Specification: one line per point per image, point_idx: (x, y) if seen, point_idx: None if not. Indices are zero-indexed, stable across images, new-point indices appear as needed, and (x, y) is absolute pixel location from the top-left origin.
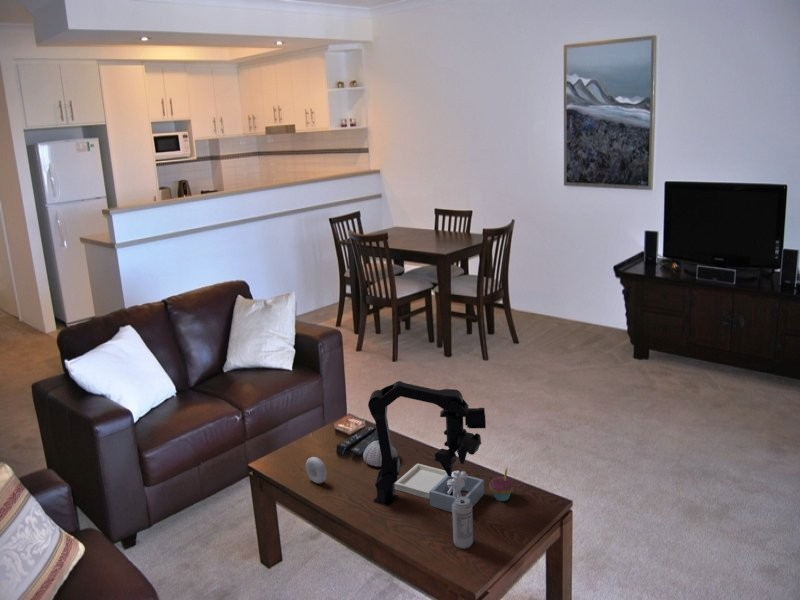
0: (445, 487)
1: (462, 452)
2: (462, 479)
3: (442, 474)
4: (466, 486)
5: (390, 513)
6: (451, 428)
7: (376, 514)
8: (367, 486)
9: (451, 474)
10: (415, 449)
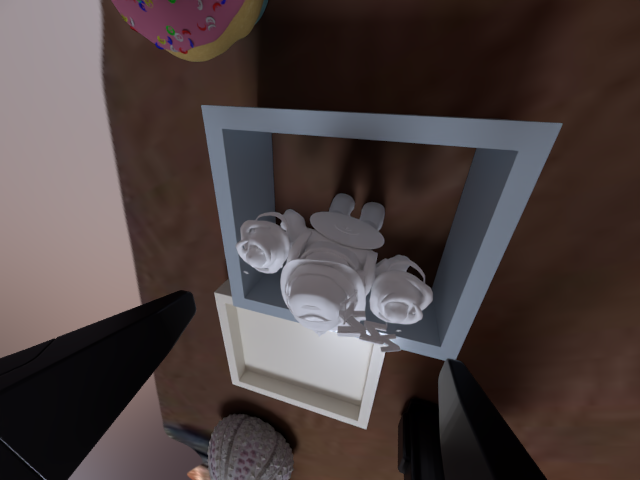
0: None
1: (53, 411)
2: (308, 233)
3: (234, 308)
4: (263, 204)
5: (534, 411)
6: None
7: (549, 443)
8: (381, 457)
9: (458, 376)
10: (175, 379)
